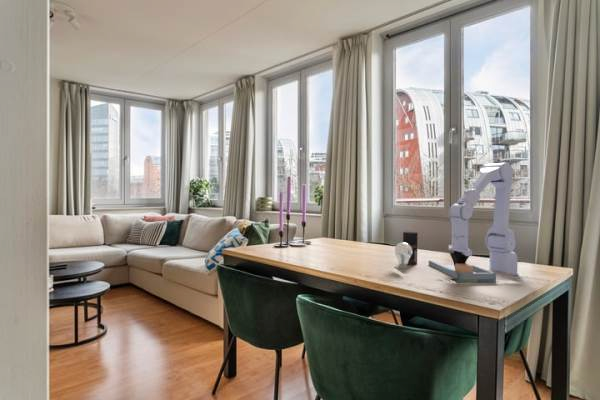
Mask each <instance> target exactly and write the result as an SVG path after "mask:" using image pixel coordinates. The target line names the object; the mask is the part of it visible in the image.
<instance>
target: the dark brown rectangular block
mask: <svg viewBox="0 0 600 400" xmlns="http://www.w3.org/2000/svg"><path fill="white" fill-rule="evenodd" d="M402 233H403V234H402V242H406V243H408V244H409V245H410V246H411V248H412V255H411V257H410V258H409V261H408V264H407V266H417V265H418V238H419V237H418V236H419V235H418V232H417V231H402Z"/></svg>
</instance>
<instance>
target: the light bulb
mask: <svg viewBox="0 0 600 400" xmlns="http://www.w3.org/2000/svg"><path fill="white" fill-rule="evenodd" d="M394 255H395V256H396V258H397V261H398V262H397V263H398V265H399V266H398V268H399V269H401V270H407V269H408V265H407V264H408V261H409V258H410V257H411V255H412V248H411V246H410V245H409V244H408V243H406V242H403V241H402V242H398V243H397V244H396V246H395V248H394Z"/></svg>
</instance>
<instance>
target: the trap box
mask: <svg viewBox="0 0 600 400" xmlns="http://www.w3.org/2000/svg"><path fill="white" fill-rule="evenodd" d="M466 263H467V264H470V265H472V266H473V273H458V272H456V271H455V266H454V264H440V263H438V262H436V261H433V260H431V259H429V260H428V266H430V267H432V268H434V269H436V270H438V271H440V272H442V273H444V274H445V275H449V276H450V277H452V278H449V280H450V281H452V282H454V281H455V283H456V284H496V283H497V273H496V272H495V271H492V270H488V269H485V268H483V267H480V266H477V265H475V264H472V263H470V262H467V261H466Z"/></svg>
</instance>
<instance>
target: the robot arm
mask: <svg viewBox="0 0 600 400" xmlns="http://www.w3.org/2000/svg"><path fill="white" fill-rule="evenodd" d="M513 175H514V168H513V167H512V165H511V164H510V163H509V162H498V163H485V164H483V165H482V167H481V168H480V169H479V176H478V178H477V179H476V181H475V183H474V184H473V185H472V187H471V188H468V189H466V190H464V191H463V194H462V195H461V196H460V198H459V199H458V200H457V202H456V203H454V204H452V205H450V207H449V208H448V211H447V213H448V217H449V220H450V223H451V240H450V241H451V242H450V243H451V244H447V245H448V247H447V249H448V251H453V252H450V253H449V255H450V257H451V260H452V262H453V265H454V266H455V263H466V262H467V260H468V259H469V258H470V257H473V250H472V249H470V248H469V219H471V218H472V216H473V211H474V207H475V206H476V205H477V204H478V202H479V200H480V199H481V193H482V191H484V190H485V188H486V187H487V186H488V185H489V184H491V185H493V186H494V187H495V197H494V210H493V222H492V223H493V225H492V226H491V227H490V228H489V229H487V233H486V236H485V238H484V241H485V242H484V244H485V246H486V247H487V250H488V251H489V271H493V272H502V273H506V274H508V275H510V276H519V273H518V262H519V261H518V259H519V258H518V255H517V253H516V252H515V251H514V250H515V248H516V246H517V245H516V244H517V243H516V237H515V232H514V231H513V230H512V229H510V227H509V220H510V209H511V208H510V205H511V192H512V191H511V190H512V184H513V177H514V176H513Z"/></svg>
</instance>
